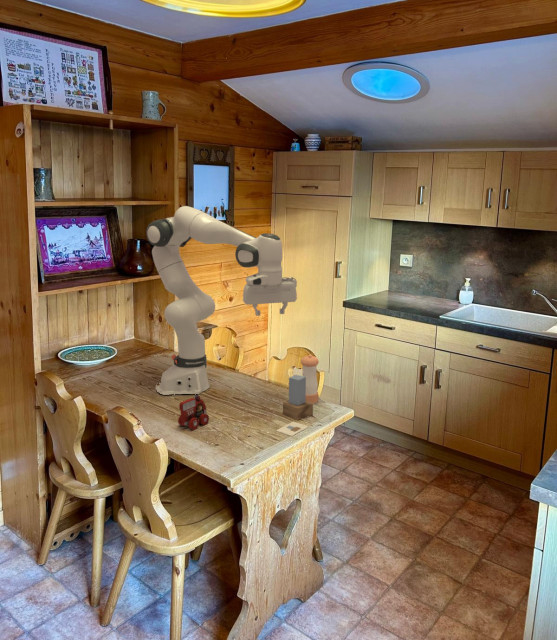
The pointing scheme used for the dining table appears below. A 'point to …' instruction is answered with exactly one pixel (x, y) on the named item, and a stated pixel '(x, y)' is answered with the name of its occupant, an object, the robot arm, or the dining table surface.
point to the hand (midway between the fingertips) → (270, 314)
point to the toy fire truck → (193, 413)
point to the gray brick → (297, 390)
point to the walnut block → (297, 410)
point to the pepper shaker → (310, 377)
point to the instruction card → (292, 428)
